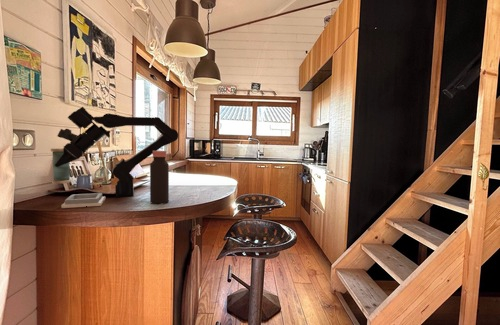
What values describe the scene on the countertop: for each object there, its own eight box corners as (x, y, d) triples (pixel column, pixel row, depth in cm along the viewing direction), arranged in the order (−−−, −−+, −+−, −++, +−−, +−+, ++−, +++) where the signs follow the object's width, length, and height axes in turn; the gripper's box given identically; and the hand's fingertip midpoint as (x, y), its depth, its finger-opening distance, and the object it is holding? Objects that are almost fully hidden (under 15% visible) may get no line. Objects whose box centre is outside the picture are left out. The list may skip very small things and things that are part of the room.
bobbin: (73, 180, 103) (71, 148, 101) (69, 183, 97) (67, 149, 96) (54, 181, 100) (53, 148, 99) (49, 184, 95) (48, 148, 94)
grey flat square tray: (105, 198, 103) (105, 192, 103) (100, 205, 92) (100, 198, 92) (70, 200, 98) (70, 194, 98) (61, 208, 88) (61, 200, 88)
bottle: (149, 204, 96) (149, 151, 94) (151, 200, 102) (150, 150, 101) (168, 203, 97) (168, 151, 96) (168, 199, 104) (169, 150, 102)
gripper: (74, 123, 107) (41, 149, 102) (70, 120, 91) (31, 151, 86) (96, 142, 111) (66, 168, 107) (96, 143, 95) (61, 173, 91)
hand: (56, 165), depth 97 cm, fingers closed on bobbin, 5 cm apart
